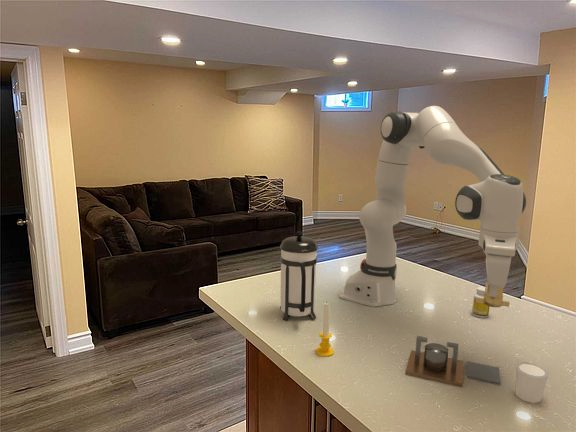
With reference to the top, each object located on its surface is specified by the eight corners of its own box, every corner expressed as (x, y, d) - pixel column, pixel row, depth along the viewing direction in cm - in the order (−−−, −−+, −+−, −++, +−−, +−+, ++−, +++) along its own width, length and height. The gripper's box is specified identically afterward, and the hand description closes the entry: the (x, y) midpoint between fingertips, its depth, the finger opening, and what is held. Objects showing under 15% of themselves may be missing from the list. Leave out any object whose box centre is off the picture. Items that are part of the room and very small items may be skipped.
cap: (477, 305, 108) (479, 284, 107) (475, 299, 112) (477, 279, 111) (510, 309, 106) (512, 288, 105) (507, 302, 110) (509, 282, 109)
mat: (466, 377, 111) (466, 375, 111) (466, 362, 118) (467, 361, 118) (500, 385, 108) (500, 383, 108) (498, 369, 115) (498, 367, 115)
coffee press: (265, 315, 147) (265, 231, 141) (295, 302, 158) (297, 224, 153) (302, 331, 135) (305, 240, 129) (333, 316, 147) (336, 232, 141)
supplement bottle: (490, 319, 147) (493, 292, 145) (473, 317, 148) (476, 290, 146) (486, 312, 152) (489, 286, 150) (470, 311, 153) (473, 285, 151)
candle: (315, 347, 125) (317, 297, 122) (333, 348, 125) (335, 298, 122) (316, 356, 120) (317, 305, 117) (334, 357, 120) (336, 305, 117)
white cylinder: (506, 387, 107) (509, 362, 105) (532, 386, 107) (535, 361, 106) (523, 405, 100) (527, 378, 99) (551, 403, 101) (555, 377, 99)
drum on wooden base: (405, 374, 112) (407, 345, 110) (411, 353, 123) (413, 326, 121) (462, 387, 107) (465, 357, 105) (462, 363, 117) (465, 336, 116)
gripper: (483, 230, 116) (478, 278, 119) (485, 248, 98) (479, 304, 101) (508, 232, 114) (503, 281, 117) (516, 251, 96) (509, 309, 98)
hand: (492, 292), depth 108 cm, fingers closed on cap, 4 cm apart
